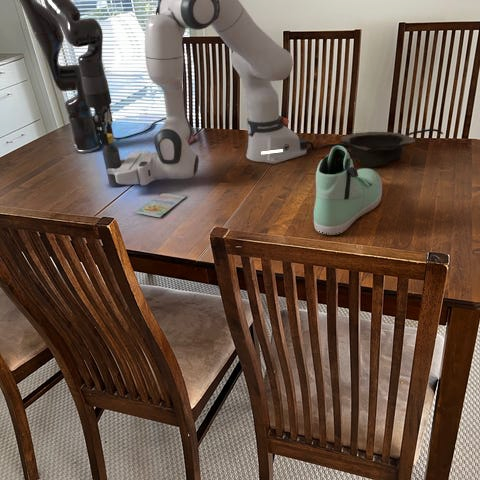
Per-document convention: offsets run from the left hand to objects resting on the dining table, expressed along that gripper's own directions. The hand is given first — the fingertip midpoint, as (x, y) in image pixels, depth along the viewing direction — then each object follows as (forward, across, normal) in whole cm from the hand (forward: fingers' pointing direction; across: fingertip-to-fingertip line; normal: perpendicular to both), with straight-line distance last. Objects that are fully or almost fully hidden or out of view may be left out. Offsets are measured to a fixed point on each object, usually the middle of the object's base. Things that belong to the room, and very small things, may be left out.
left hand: (107, 140), depth 157 cm
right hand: (+9, 0, -1) cm, 9 cm away
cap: (-2, 0, 0) cm, 2 cm away
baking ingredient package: (+16, +19, +18) cm, 30 cm away
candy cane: (+16, -34, +19) cm, 42 cm away
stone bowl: (+16, -7, +90) cm, 92 cm away
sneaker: (+16, +29, +74) cm, 81 cm away
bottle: (+16, 0, 0) cm, 16 cm away
